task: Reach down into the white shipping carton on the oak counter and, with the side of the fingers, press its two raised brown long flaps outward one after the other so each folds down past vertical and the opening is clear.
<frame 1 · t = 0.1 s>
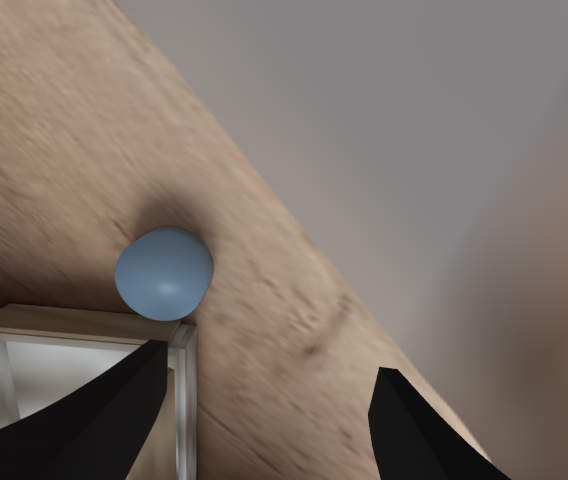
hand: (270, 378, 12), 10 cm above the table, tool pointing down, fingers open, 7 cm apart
flap 1: (152, 478, 21), point 5 cm above the table, hinge at 25.0°
blue pebble: (173, 264, 22), on the table
carton: (105, 403, 25), on the table
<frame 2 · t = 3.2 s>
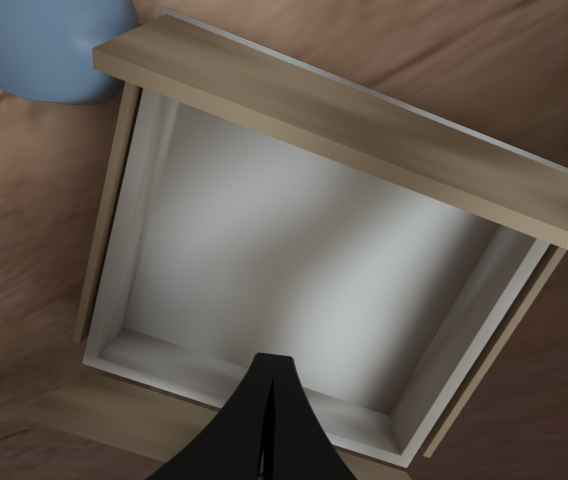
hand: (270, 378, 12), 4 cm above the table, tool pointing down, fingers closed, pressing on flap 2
flap 2: (250, 450, 12), point 5 cm above the table, hinge at 23.8°, touching gripper
flap 1: (389, 137, 9), point 5 cm above the table, hinge at 25.0°
blue pebble: (73, 31, 13), on the table
carton: (306, 255, 15), on the table
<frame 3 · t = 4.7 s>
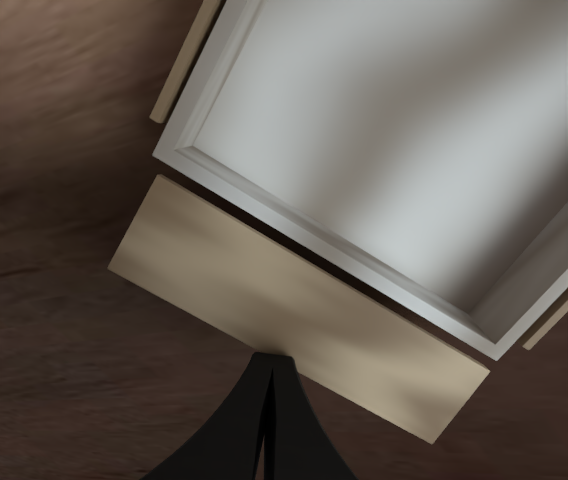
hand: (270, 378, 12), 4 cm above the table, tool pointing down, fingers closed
flap 2: (307, 319, 12), point 3 cm above the table, hinge at -83.2°
carton: (432, 96, 13), on the table
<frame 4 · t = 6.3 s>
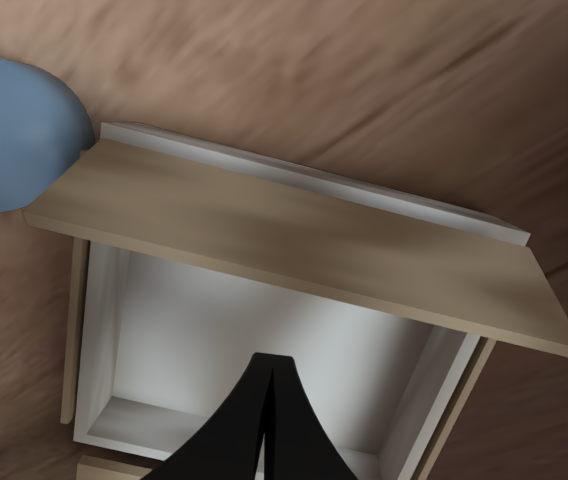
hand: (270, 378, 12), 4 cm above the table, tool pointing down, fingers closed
flap 1: (316, 238, 9), point 5 cm above the table, hinge at 25.0°
blue pebble: (31, 135, 14), on the table
carton: (277, 314, 16), on the table
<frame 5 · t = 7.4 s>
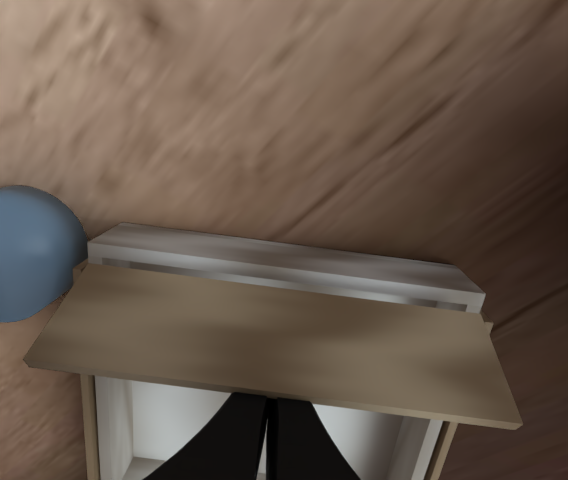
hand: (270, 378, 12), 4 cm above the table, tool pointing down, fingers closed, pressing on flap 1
flap 1: (278, 337, 11), point 5 cm above the table, hinge at 24.0°, touching gripper
blue pebble: (32, 242, 16), on the table
carton: (271, 372, 17), on the table
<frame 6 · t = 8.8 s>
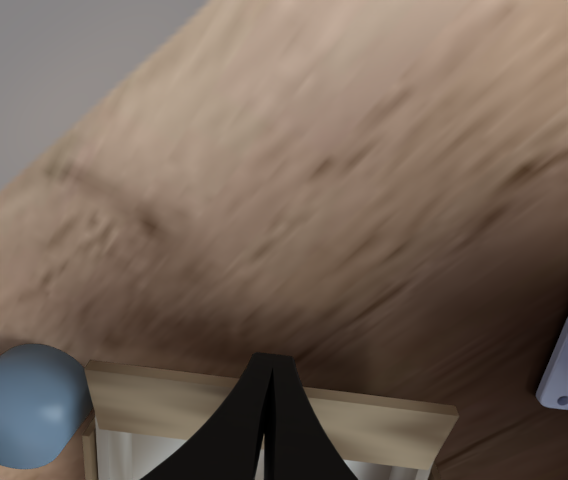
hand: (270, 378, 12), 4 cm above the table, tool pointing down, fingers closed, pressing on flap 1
flap 1: (268, 418, 13), point 4 cm above the table, hinge at -78.1°, touching gripper
blue pebble: (45, 386, 18), on the table
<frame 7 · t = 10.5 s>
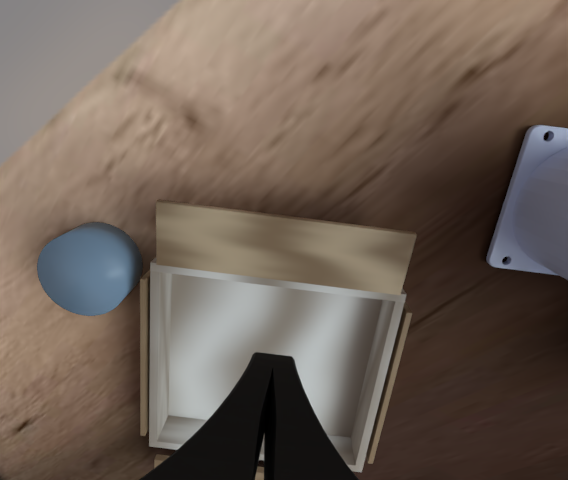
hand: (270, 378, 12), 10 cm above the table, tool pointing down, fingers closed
flap 1: (282, 248, 18), point 3 cm above the table, hinge at -86.6°
blue pebble: (103, 260, 22), on the table
carton: (269, 351, 24), on the table
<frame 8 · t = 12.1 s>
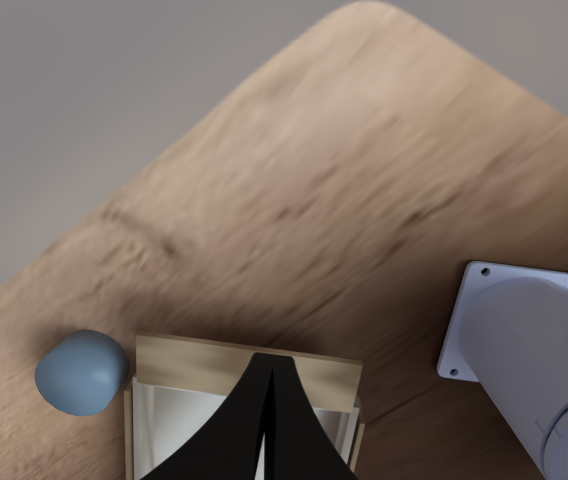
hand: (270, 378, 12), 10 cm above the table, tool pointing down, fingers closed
flap 1: (246, 372, 21), point 3 cm above the table, hinge at -87.7°
blue pebble: (94, 360, 25), on the table
carton: (243, 439, 26), on the table
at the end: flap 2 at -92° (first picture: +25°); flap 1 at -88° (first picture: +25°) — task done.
